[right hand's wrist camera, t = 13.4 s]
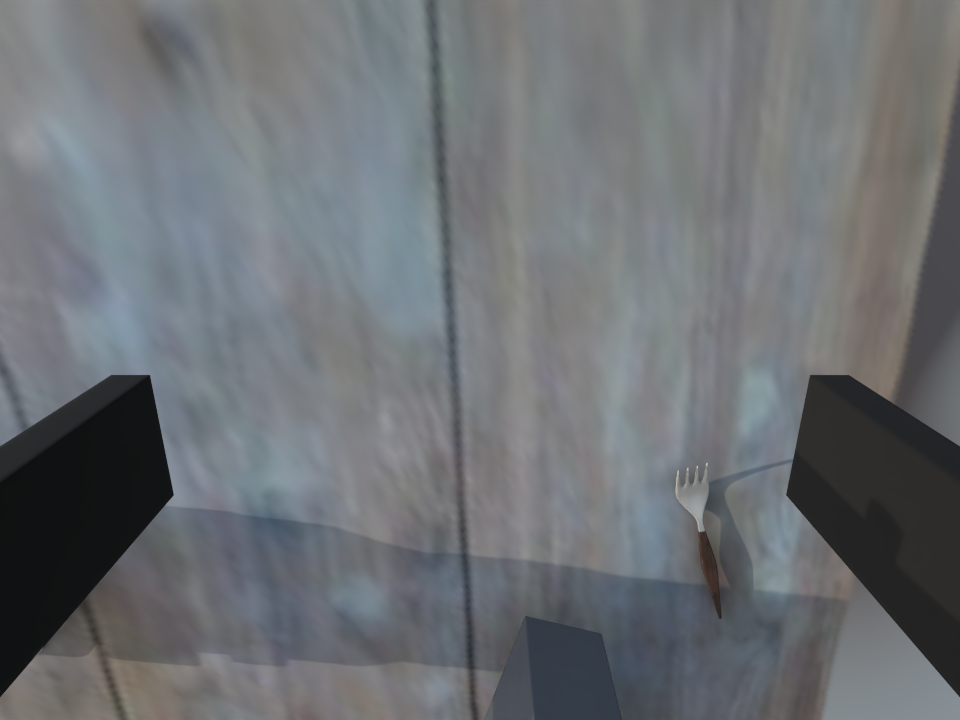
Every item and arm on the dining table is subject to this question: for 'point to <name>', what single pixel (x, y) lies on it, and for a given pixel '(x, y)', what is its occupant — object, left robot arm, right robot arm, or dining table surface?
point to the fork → (701, 526)
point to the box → (555, 676)
